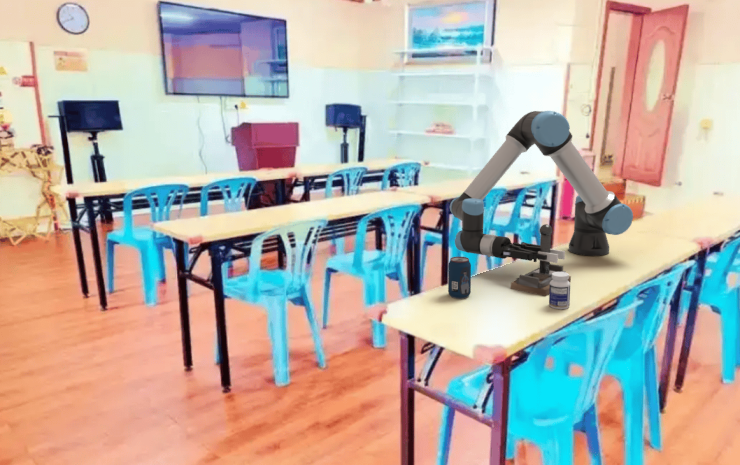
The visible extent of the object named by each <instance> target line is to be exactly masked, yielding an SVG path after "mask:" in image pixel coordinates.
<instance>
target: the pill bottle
mask: <svg viewBox="0 0 740 465" xmlns="http://www.w3.org/2000/svg"><path fill="white" fill-rule="evenodd" d="M569 276H570V274H569V273H568V272H553V273H552V280H551V281H550V288H549V295H548V305H549V307H550V308H552V309H556V310H567V309H569V307H570V305H571V303H570V301H571V282H569V281H568V279H569Z"/></svg>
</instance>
